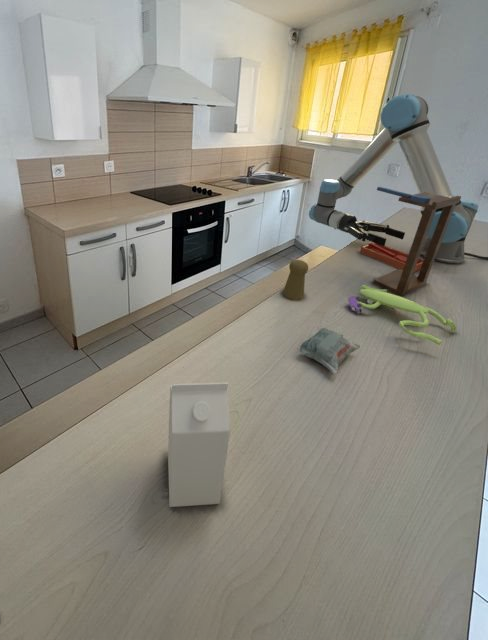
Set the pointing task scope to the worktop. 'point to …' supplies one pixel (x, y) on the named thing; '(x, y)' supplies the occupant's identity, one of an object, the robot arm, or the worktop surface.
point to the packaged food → (328, 348)
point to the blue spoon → (407, 195)
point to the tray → (387, 259)
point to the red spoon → (389, 253)
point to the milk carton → (197, 443)
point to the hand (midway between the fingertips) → (394, 239)
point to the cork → (296, 280)
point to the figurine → (401, 304)
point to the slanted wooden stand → (420, 246)
